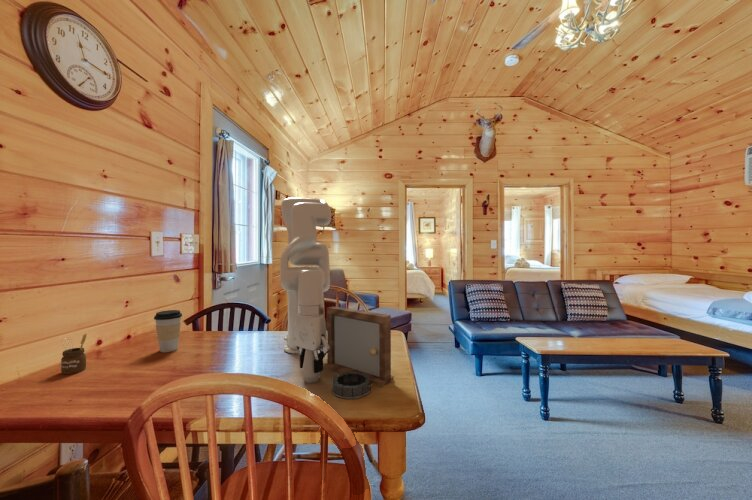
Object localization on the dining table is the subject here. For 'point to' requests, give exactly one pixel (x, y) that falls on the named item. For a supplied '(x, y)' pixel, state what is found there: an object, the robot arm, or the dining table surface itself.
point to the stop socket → (351, 385)
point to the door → (357, 344)
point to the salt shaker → (309, 368)
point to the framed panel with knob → (383, 342)
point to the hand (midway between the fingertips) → (311, 368)
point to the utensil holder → (73, 359)
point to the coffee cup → (168, 329)
